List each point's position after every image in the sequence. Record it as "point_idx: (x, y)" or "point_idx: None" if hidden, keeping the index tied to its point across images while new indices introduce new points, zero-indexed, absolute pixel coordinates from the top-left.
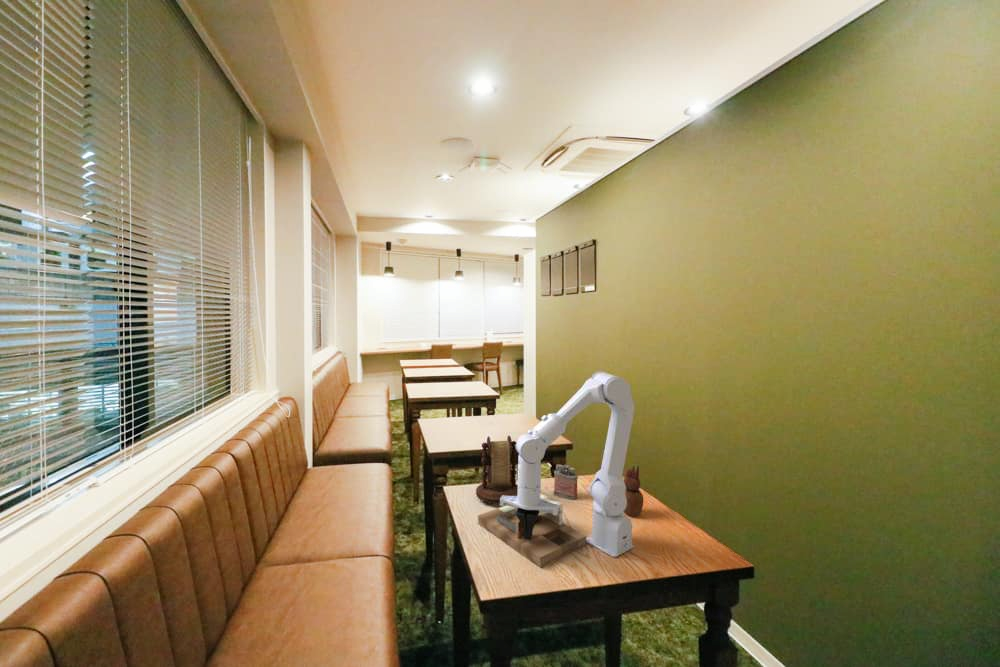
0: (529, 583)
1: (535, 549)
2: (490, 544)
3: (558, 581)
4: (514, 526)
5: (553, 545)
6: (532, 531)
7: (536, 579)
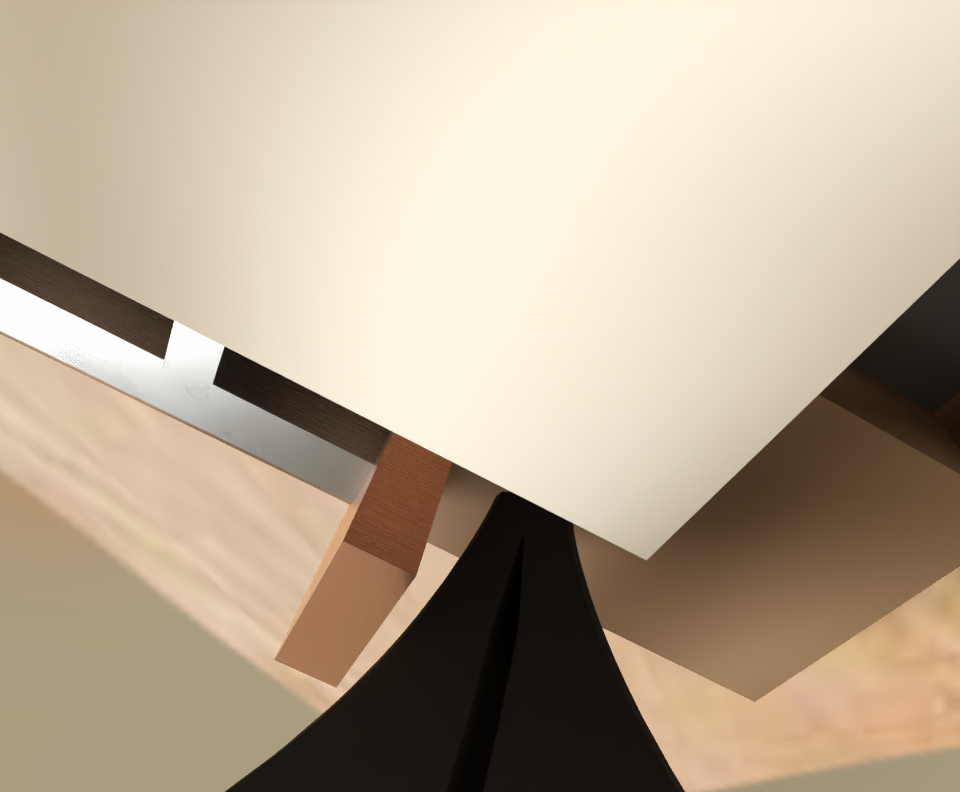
0: (689, 743)
1: (674, 612)
2: (169, 435)
3: (921, 706)
4: (260, 455)
5: (905, 503)
6: (574, 541)
7: (732, 711)
